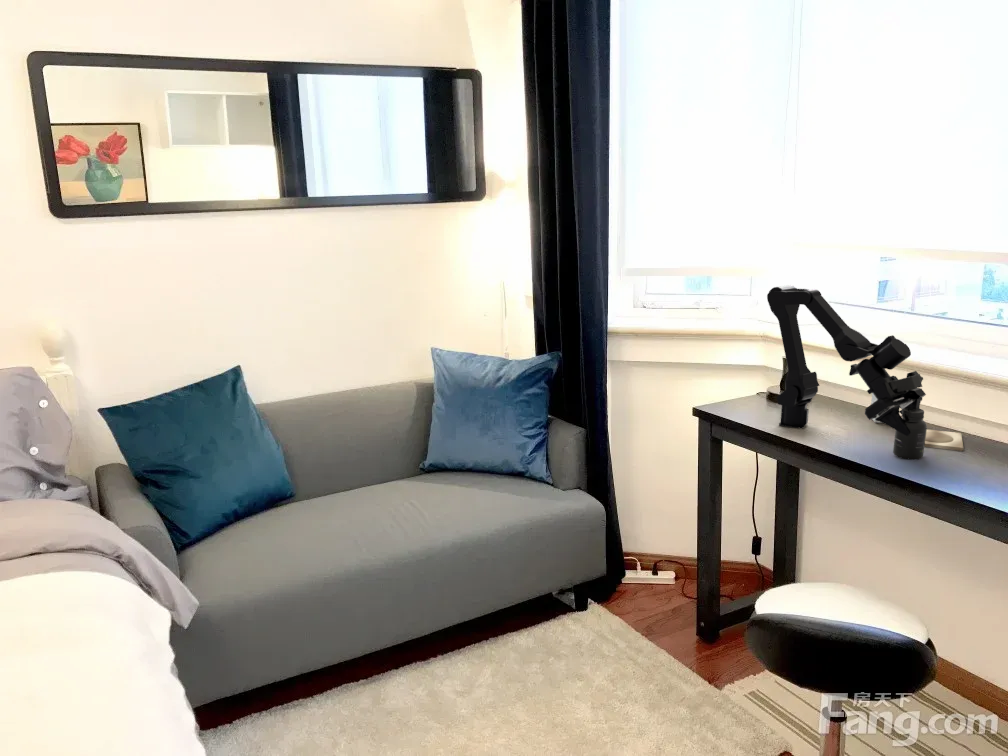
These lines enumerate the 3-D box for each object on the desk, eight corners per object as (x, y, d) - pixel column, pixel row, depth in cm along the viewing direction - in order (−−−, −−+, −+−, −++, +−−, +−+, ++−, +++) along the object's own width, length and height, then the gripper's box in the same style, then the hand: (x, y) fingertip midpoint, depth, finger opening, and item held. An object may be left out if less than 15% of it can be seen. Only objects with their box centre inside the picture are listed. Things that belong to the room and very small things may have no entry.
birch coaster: (905, 444, 207) (905, 441, 207) (906, 430, 218) (906, 426, 218) (963, 450, 201) (963, 447, 201) (960, 435, 212) (960, 432, 212)
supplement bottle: (887, 455, 199) (892, 409, 196) (901, 449, 203) (906, 404, 200) (914, 462, 194) (920, 415, 191) (928, 456, 198) (934, 410, 195)
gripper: (881, 367, 191) (921, 422, 185) (922, 356, 201) (961, 408, 195) (848, 392, 199) (886, 446, 193) (888, 380, 209) (926, 430, 203)
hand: (916, 432), depth 196 cm, fingers closed on supplement bottle, 7 cm apart
